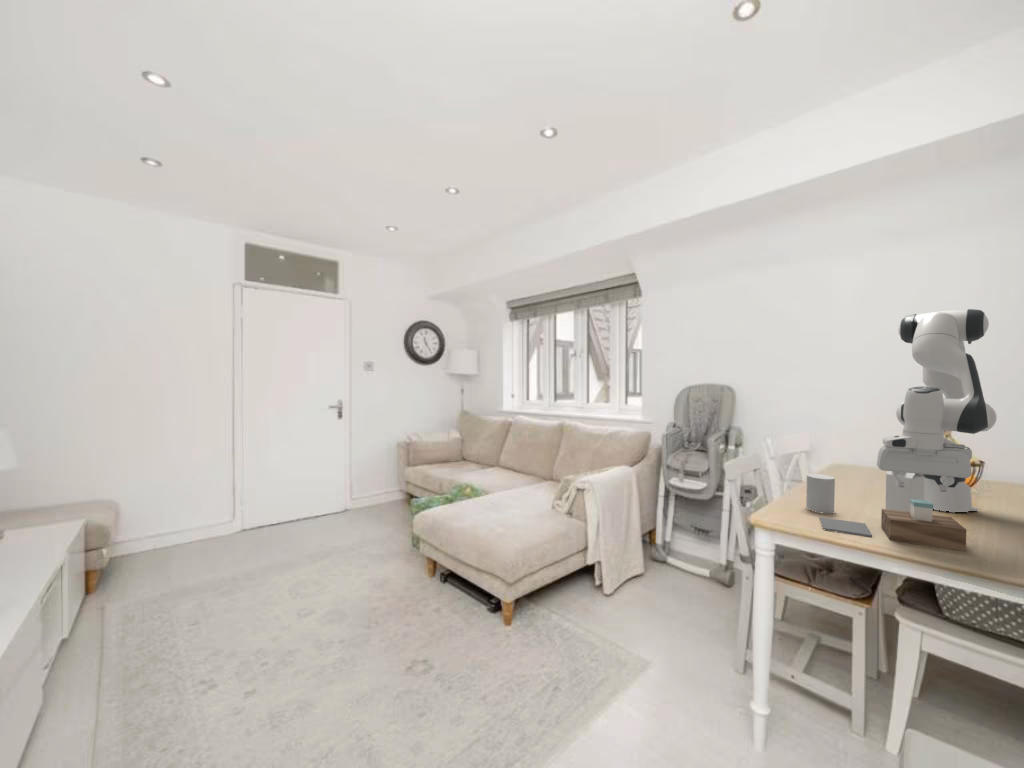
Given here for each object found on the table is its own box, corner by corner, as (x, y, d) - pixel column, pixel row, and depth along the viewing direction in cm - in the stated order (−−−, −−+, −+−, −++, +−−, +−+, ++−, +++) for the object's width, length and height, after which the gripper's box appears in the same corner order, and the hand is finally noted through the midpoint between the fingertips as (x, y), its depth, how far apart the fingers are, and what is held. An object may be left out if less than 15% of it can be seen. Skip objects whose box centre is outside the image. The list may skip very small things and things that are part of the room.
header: (881, 527, 138) (881, 508, 138) (950, 537, 130) (951, 517, 130) (889, 539, 128) (890, 519, 128) (965, 551, 120) (966, 529, 120)
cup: (837, 510, 156) (838, 476, 155) (829, 515, 151) (829, 480, 150) (811, 505, 162) (811, 472, 162) (802, 509, 157) (803, 475, 157)
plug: (909, 535, 132) (910, 498, 132) (928, 537, 130) (928, 500, 130) (912, 539, 128) (913, 502, 128) (932, 542, 126) (933, 504, 126)
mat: (819, 518, 147) (819, 517, 147) (865, 525, 140) (865, 523, 140) (822, 529, 136) (823, 527, 136) (872, 537, 130) (872, 535, 130)
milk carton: (898, 515, 150) (899, 460, 150) (923, 522, 143) (925, 464, 143) (885, 518, 147) (886, 461, 147) (910, 524, 141) (911, 466, 140)
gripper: (967, 443, 126) (966, 491, 126) (876, 438, 136) (875, 482, 136) (976, 446, 120) (975, 496, 121) (880, 440, 131) (879, 486, 131)
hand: (921, 489), depth 129 cm, fingers open, 8 cm apart
